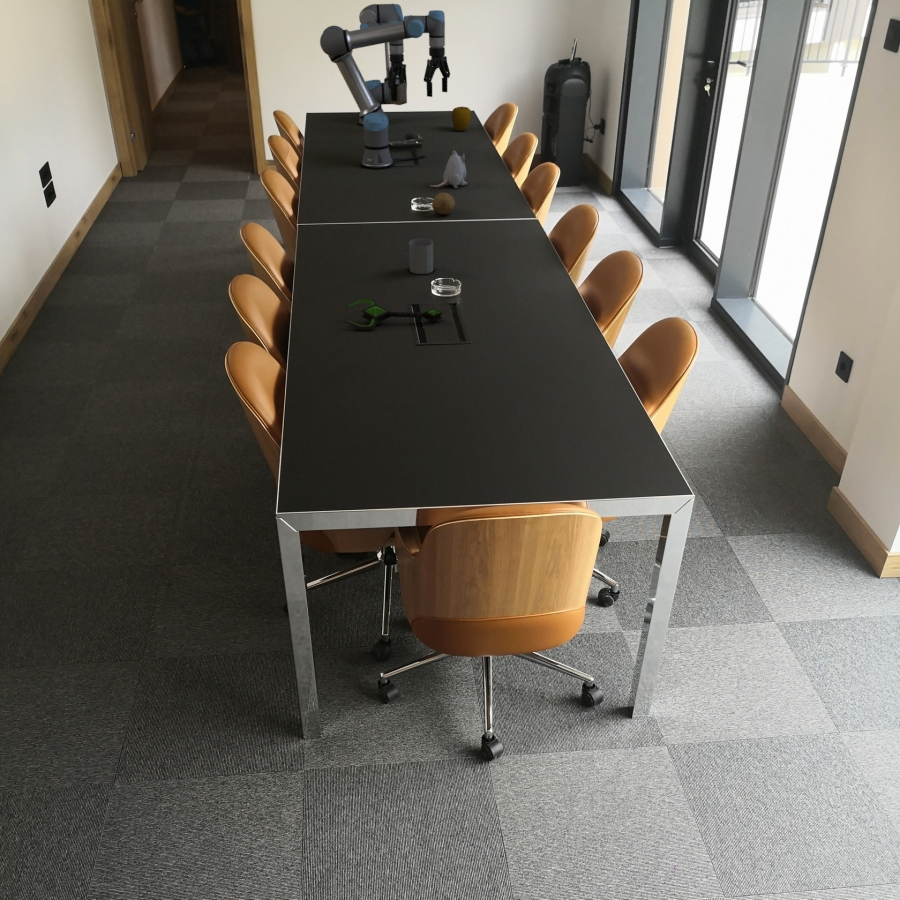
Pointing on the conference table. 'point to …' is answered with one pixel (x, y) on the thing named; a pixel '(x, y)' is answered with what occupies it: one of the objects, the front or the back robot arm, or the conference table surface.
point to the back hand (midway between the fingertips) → (397, 99)
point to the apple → (461, 118)
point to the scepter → (389, 314)
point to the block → (399, 93)
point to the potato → (443, 203)
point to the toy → (454, 171)
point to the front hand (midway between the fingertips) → (437, 94)
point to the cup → (421, 256)
